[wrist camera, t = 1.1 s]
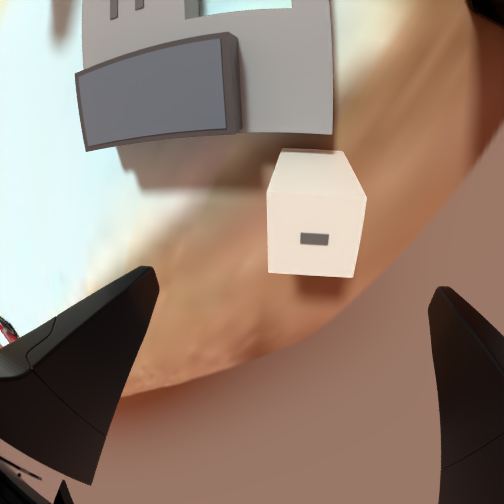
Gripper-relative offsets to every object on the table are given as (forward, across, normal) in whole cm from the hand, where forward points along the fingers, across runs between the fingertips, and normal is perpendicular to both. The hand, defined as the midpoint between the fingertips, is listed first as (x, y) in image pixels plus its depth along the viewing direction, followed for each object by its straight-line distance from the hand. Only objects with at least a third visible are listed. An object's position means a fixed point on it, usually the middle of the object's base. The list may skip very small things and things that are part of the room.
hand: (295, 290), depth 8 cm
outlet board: (+12, +6, -11) cm, 18 cm away
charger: (+12, -1, +1) cm, 12 cm away
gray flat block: (+10, +8, -6) cm, 14 cm away
